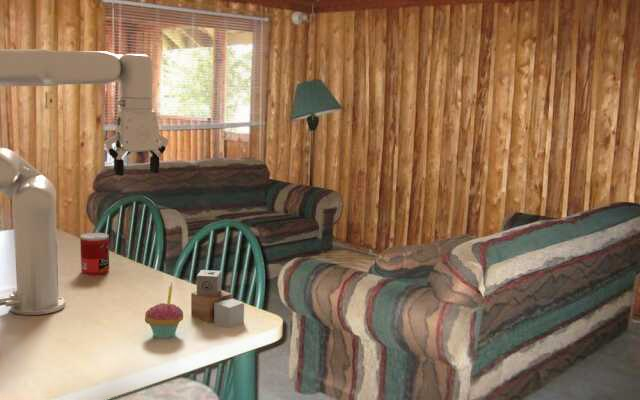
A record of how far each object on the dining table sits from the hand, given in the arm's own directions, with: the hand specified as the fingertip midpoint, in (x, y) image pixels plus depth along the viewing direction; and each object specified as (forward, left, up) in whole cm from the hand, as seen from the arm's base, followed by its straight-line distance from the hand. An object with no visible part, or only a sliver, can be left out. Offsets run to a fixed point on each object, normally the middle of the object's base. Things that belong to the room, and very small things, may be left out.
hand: (137, 173), depth 175 cm
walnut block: (+8, -21, -34) cm, 40 cm away
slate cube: (+9, -27, -33) cm, 44 cm away
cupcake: (-7, -25, -34) cm, 42 cm away
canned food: (+3, +31, -34) cm, 46 cm away
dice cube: (+8, -20, -28) cm, 35 cm away
